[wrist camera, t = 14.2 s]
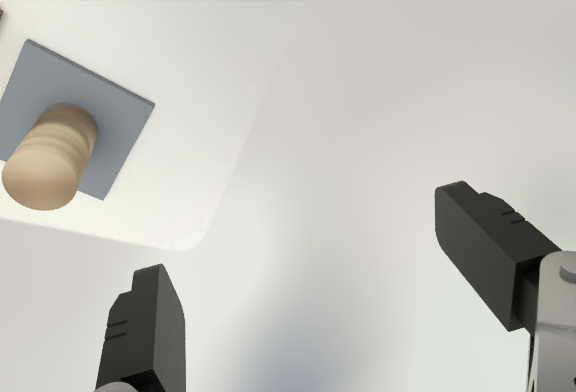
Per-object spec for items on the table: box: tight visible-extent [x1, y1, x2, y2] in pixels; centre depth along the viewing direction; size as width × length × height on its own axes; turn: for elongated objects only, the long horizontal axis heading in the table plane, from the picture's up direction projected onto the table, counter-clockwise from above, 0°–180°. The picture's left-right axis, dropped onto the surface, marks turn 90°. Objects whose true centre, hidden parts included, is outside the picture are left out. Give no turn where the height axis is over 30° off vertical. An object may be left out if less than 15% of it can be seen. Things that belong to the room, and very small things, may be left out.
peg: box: [2, 103, 98, 211], centre depth 33 cm, size 4×4×9 cm
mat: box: [0, 39, 154, 200], centre depth 37 cm, size 10×10×1 cm
